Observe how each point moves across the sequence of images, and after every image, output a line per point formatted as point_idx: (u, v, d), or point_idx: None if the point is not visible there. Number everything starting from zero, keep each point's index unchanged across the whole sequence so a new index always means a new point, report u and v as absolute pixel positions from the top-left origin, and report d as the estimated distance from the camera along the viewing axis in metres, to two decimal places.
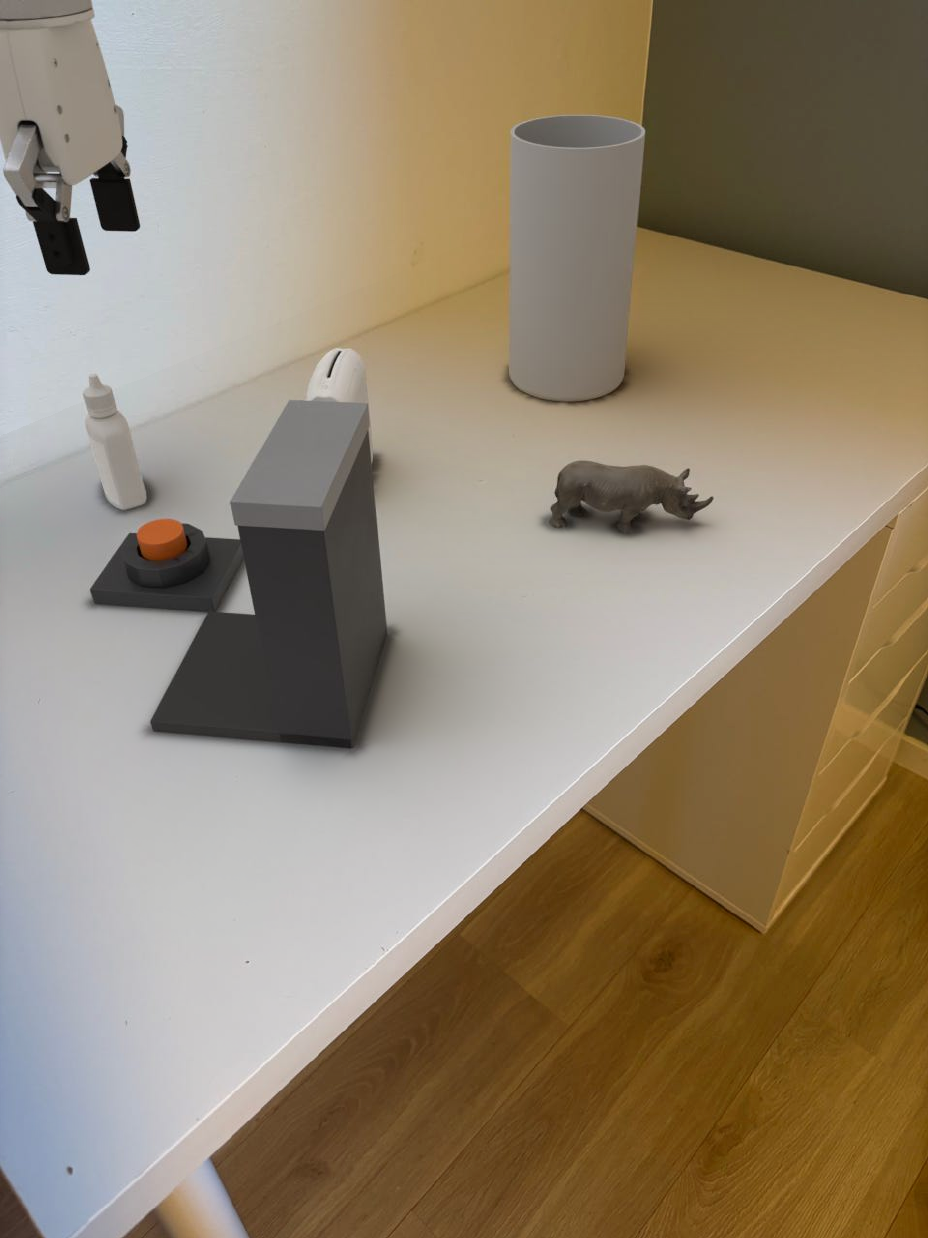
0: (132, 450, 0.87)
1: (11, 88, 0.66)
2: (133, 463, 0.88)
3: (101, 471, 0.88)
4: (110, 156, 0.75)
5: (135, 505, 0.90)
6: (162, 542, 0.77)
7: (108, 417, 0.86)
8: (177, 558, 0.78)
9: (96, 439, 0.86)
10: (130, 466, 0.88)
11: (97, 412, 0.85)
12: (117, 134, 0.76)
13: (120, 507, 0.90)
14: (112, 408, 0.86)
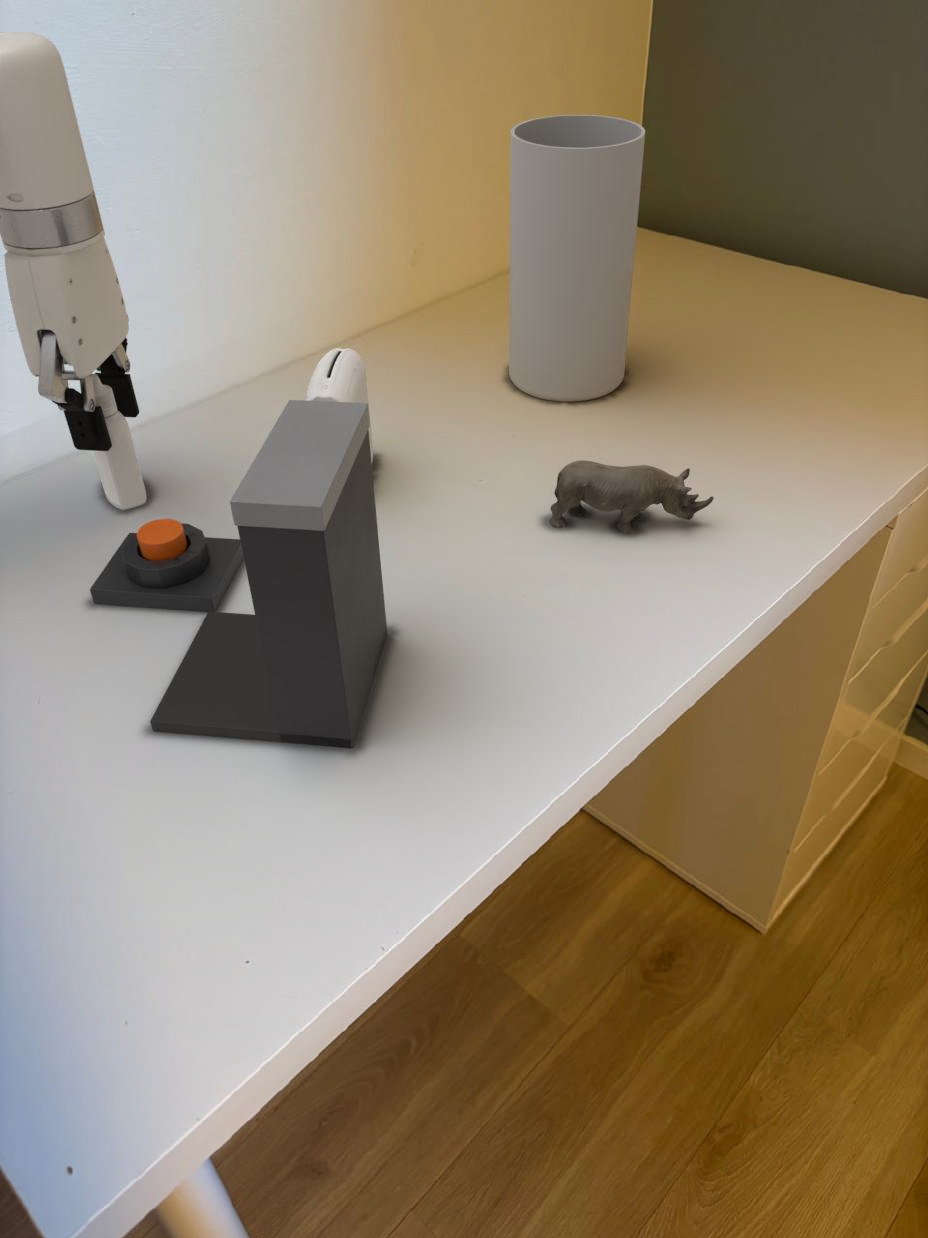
0: (132, 450, 0.87)
1: (31, 304, 0.75)
2: (133, 463, 0.88)
3: (101, 471, 0.88)
4: (118, 343, 0.84)
5: (135, 505, 0.90)
6: (162, 542, 0.77)
7: (108, 417, 0.86)
8: (177, 558, 0.78)
9: None
10: (130, 466, 0.88)
11: None
12: (124, 322, 0.85)
13: (120, 507, 0.90)
14: (112, 408, 0.86)
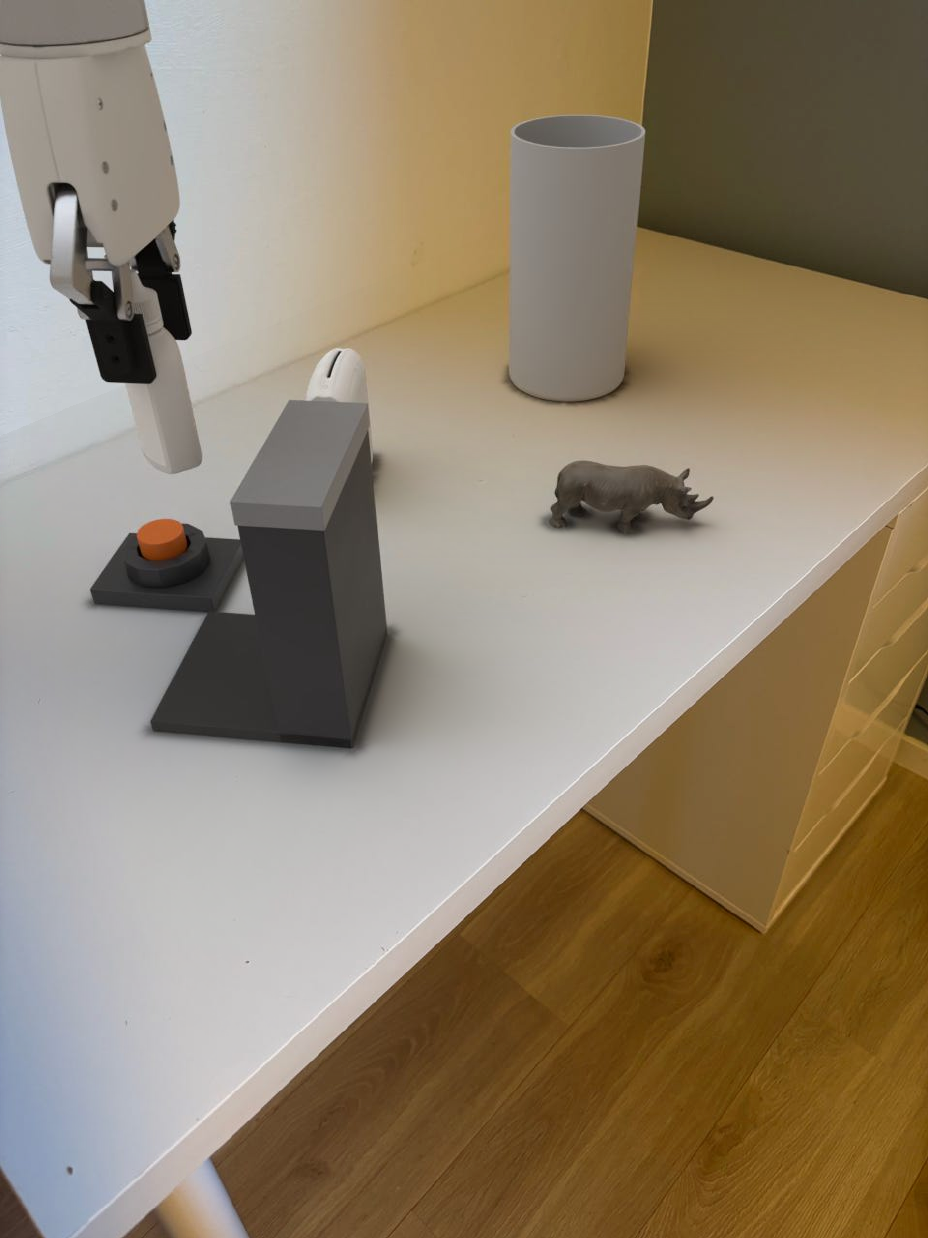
0: (185, 385, 0.60)
1: (39, 140, 0.48)
2: (187, 404, 0.60)
3: (139, 417, 0.61)
4: (166, 222, 0.57)
5: (187, 467, 0.62)
6: (162, 542, 0.77)
7: (151, 335, 0.58)
8: (177, 558, 0.78)
9: None
10: (182, 408, 0.60)
11: None
12: (174, 192, 0.57)
13: (166, 470, 0.62)
14: (157, 321, 0.58)
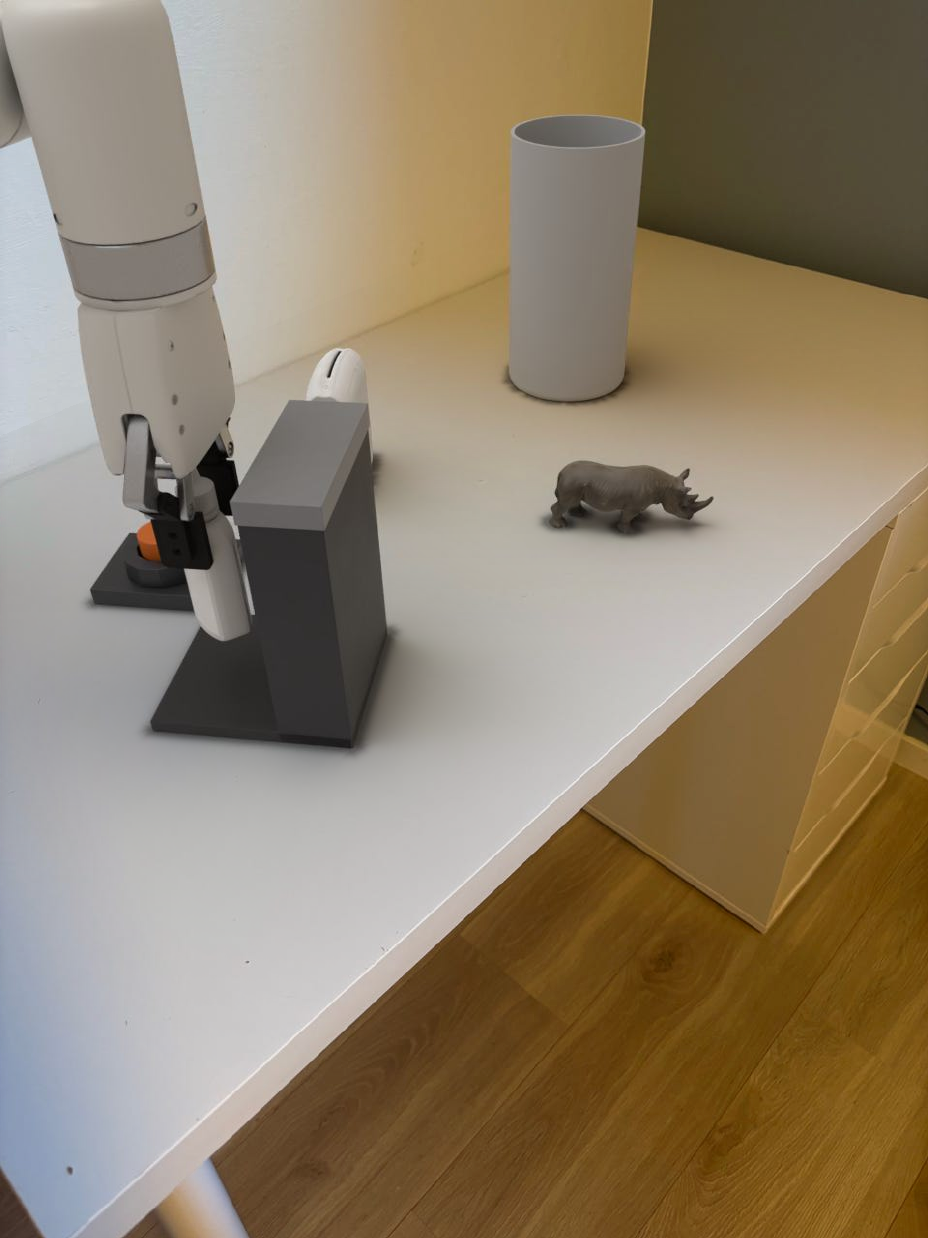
0: (239, 565, 0.64)
1: (115, 380, 0.52)
2: (240, 581, 0.64)
3: (195, 591, 0.65)
4: (223, 422, 0.61)
5: (239, 634, 0.66)
6: None
7: (208, 522, 0.63)
8: None
9: None
10: (236, 586, 0.64)
11: None
12: (231, 392, 0.61)
13: (219, 638, 0.66)
14: (214, 509, 0.62)
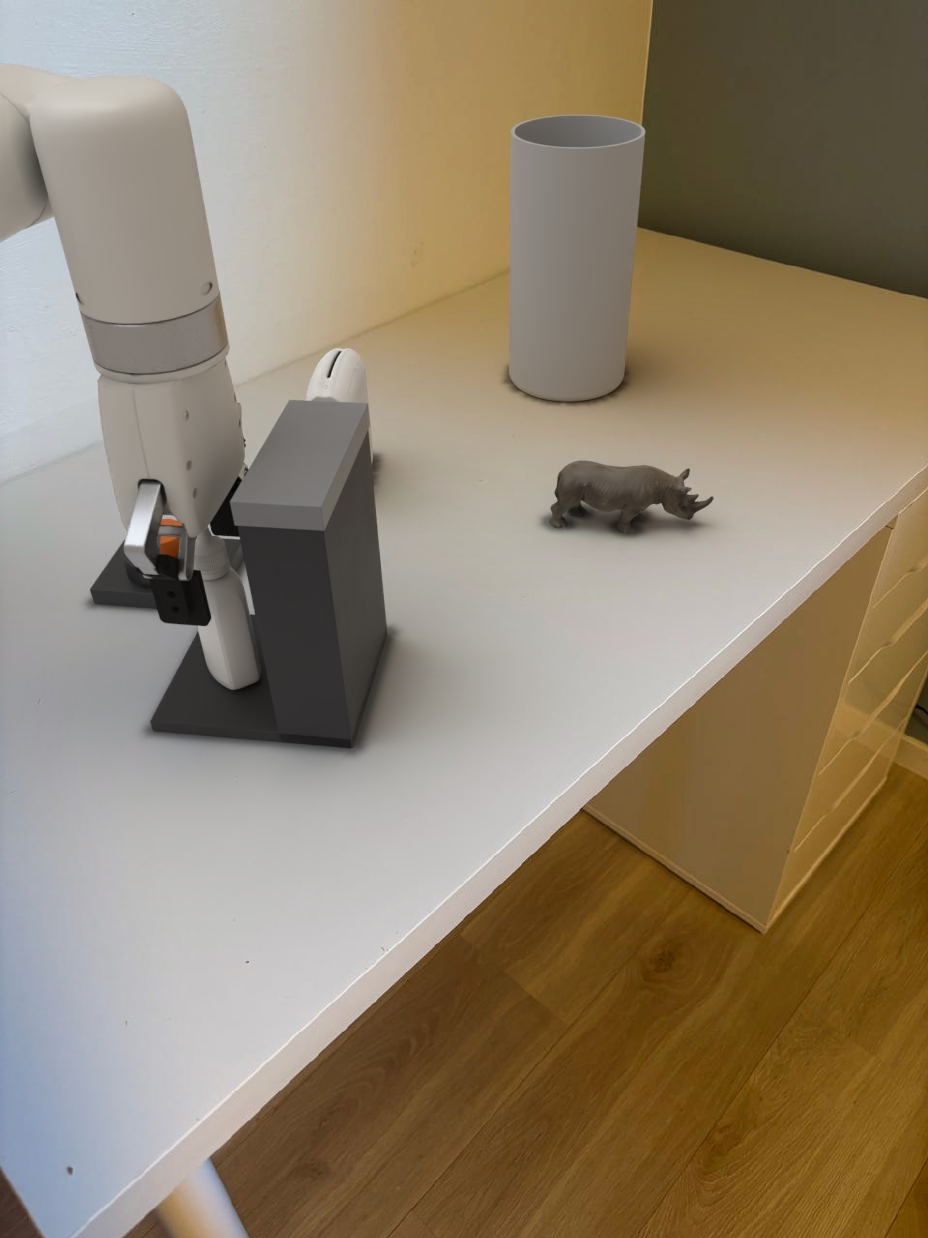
0: (249, 618, 0.67)
1: (133, 447, 0.55)
2: (250, 634, 0.67)
3: (206, 643, 0.68)
4: (234, 479, 0.63)
5: (248, 683, 0.69)
6: (162, 542, 0.77)
7: (220, 579, 0.65)
8: (177, 558, 0.78)
9: None
10: (246, 639, 0.67)
11: (206, 574, 0.65)
12: (241, 449, 0.64)
13: (229, 687, 0.69)
14: (225, 567, 0.65)
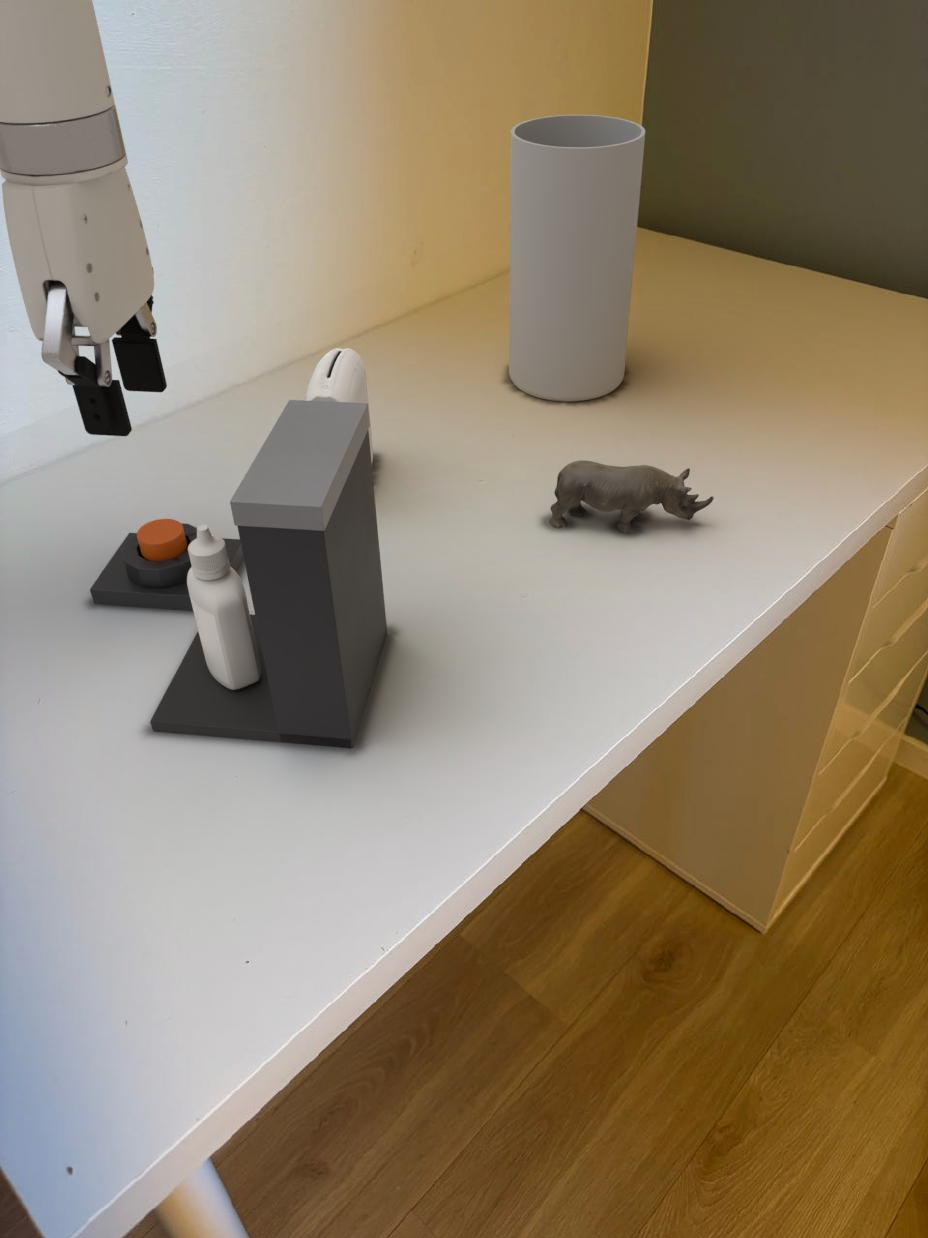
0: (249, 618, 0.67)
1: (35, 248, 0.60)
2: (250, 634, 0.67)
3: (206, 643, 0.68)
4: (142, 302, 0.68)
5: (248, 683, 0.69)
6: (162, 542, 0.77)
7: (220, 579, 0.65)
8: (177, 558, 0.78)
9: (203, 608, 0.65)
10: (246, 639, 0.67)
11: (206, 574, 0.65)
12: (149, 277, 0.69)
13: (229, 687, 0.69)
14: (225, 567, 0.65)
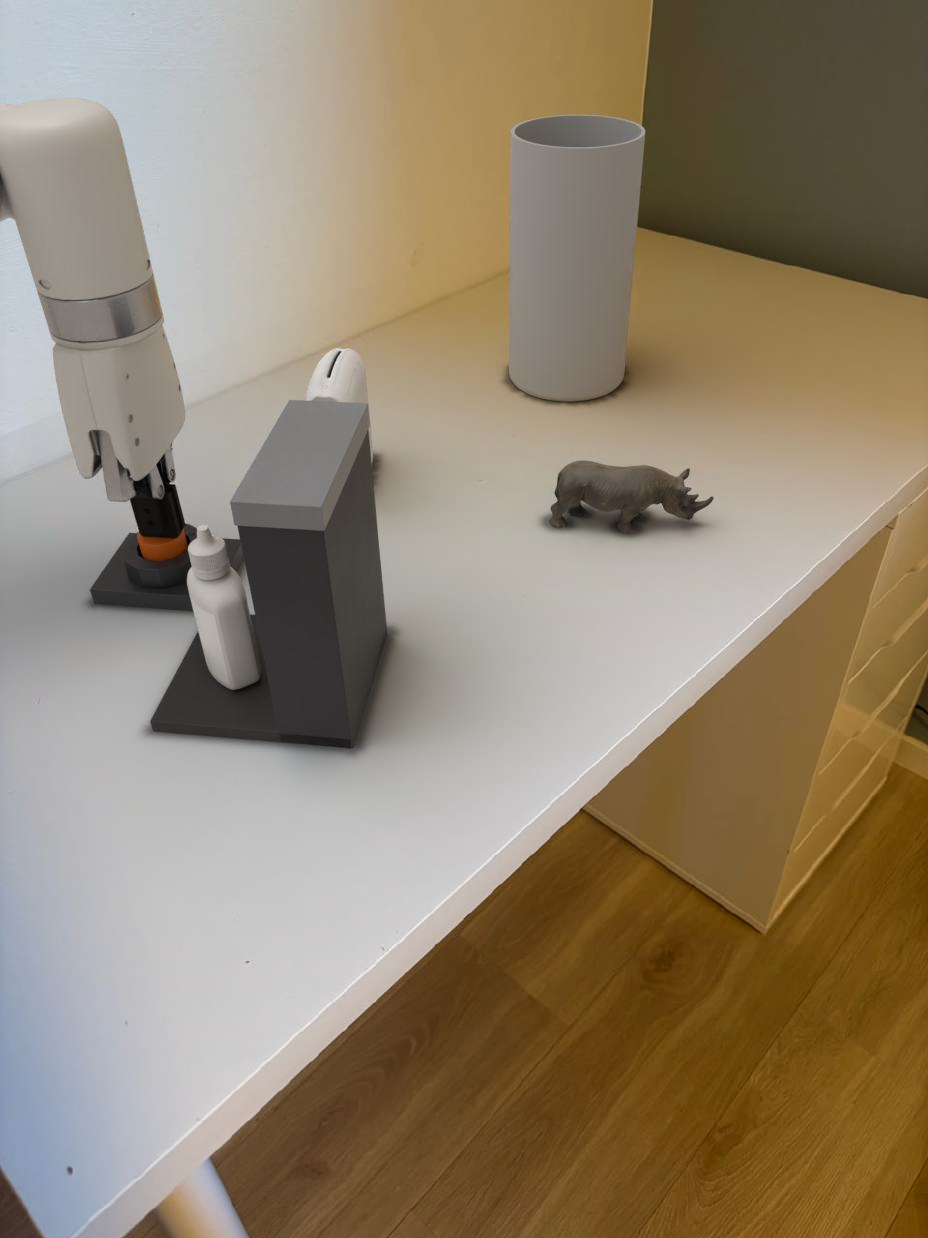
0: (249, 618, 0.67)
1: (83, 403, 0.66)
2: (250, 634, 0.67)
3: (206, 643, 0.68)
4: (175, 434, 0.75)
5: (248, 683, 0.69)
6: (162, 543, 0.77)
7: (220, 579, 0.65)
8: (177, 558, 0.78)
9: (203, 608, 0.65)
10: (246, 639, 0.67)
11: (206, 574, 0.65)
12: (181, 410, 0.76)
13: (229, 687, 0.69)
14: (225, 567, 0.65)
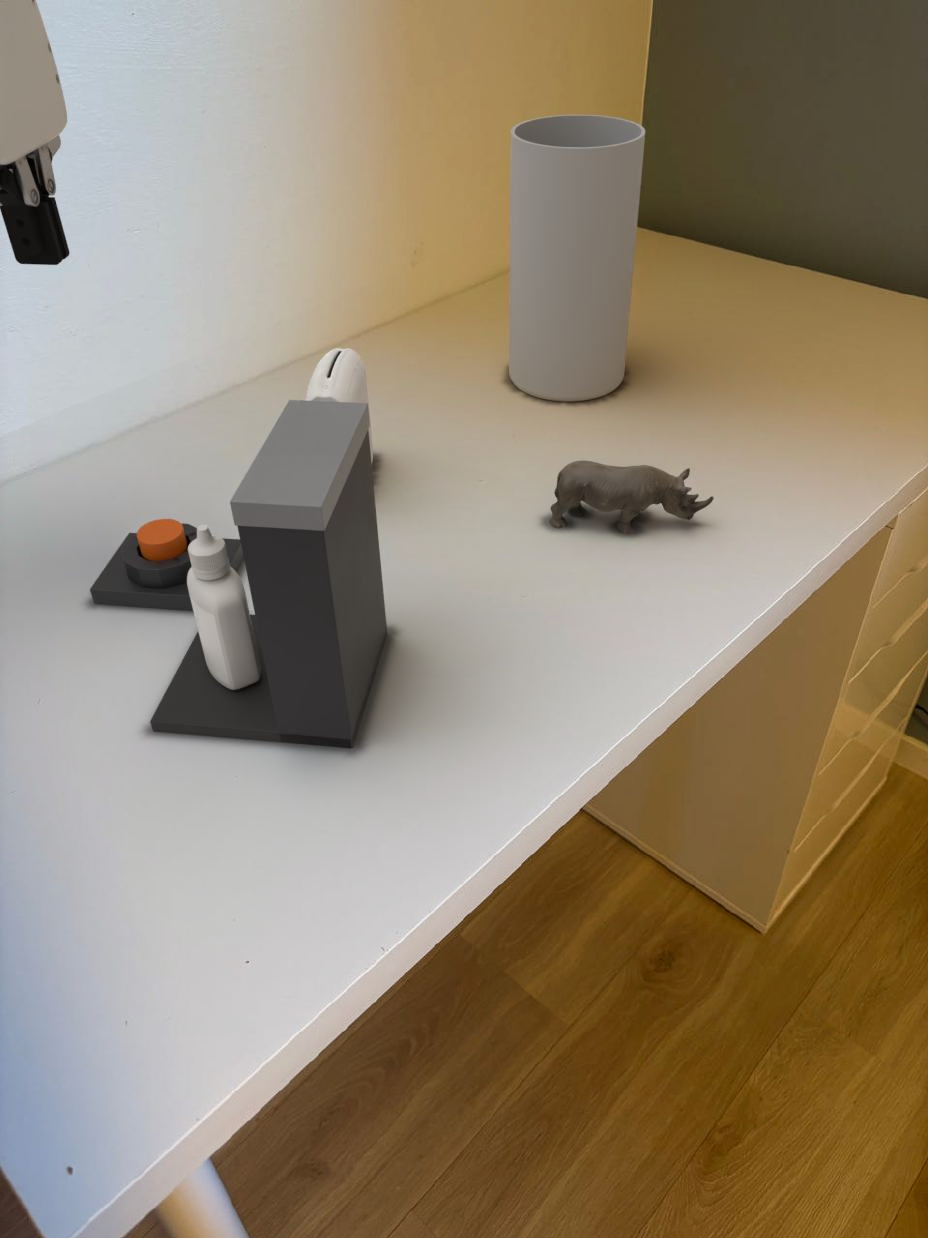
0: (249, 618, 0.67)
1: None
2: (250, 634, 0.67)
3: (206, 643, 0.68)
4: (52, 132, 0.65)
5: (248, 683, 0.69)
6: (162, 542, 0.77)
7: (220, 579, 0.65)
8: (177, 558, 0.78)
9: (203, 608, 0.65)
10: (246, 639, 0.67)
11: (206, 574, 0.65)
12: (61, 108, 0.66)
13: (229, 687, 0.69)
14: (225, 567, 0.65)
